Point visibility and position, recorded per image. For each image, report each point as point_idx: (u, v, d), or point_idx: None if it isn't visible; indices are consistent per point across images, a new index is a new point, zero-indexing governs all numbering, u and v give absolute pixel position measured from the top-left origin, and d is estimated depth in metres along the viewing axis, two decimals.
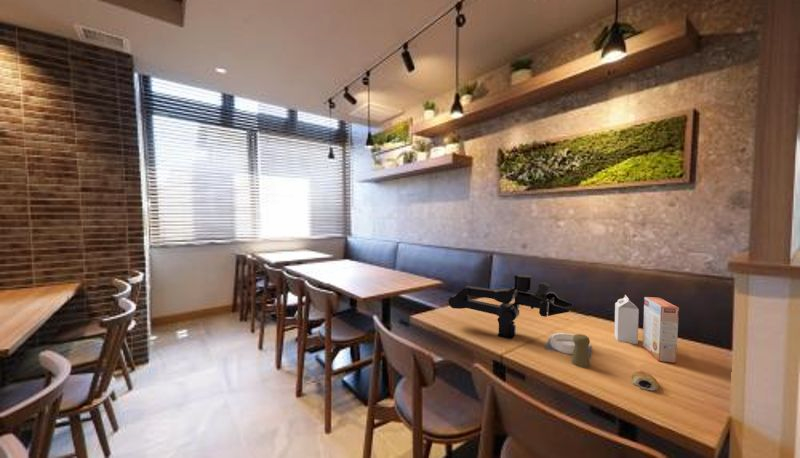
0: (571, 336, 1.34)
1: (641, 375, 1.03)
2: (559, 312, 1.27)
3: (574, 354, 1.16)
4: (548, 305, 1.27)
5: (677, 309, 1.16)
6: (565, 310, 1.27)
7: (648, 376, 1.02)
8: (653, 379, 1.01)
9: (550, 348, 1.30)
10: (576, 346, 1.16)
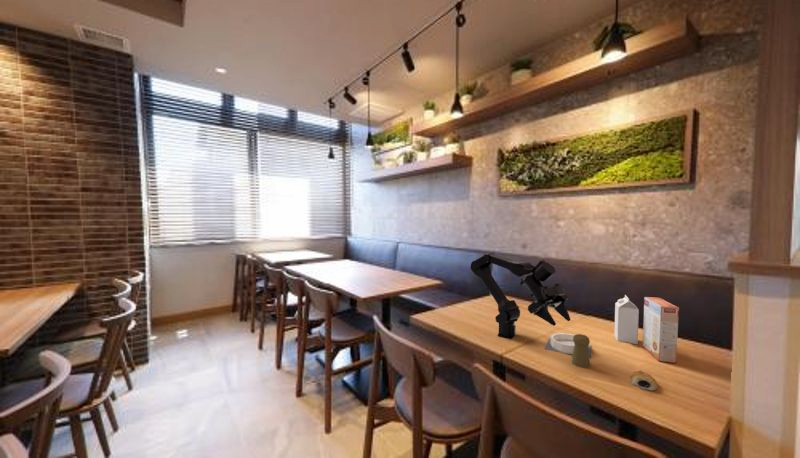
0: (571, 336, 1.34)
1: (640, 375, 1.03)
2: (545, 319, 1.22)
3: (574, 354, 1.16)
4: (540, 308, 1.21)
5: (677, 309, 1.16)
6: (551, 322, 1.20)
7: (647, 376, 1.02)
8: (652, 379, 1.01)
9: (550, 348, 1.30)
10: (576, 346, 1.16)
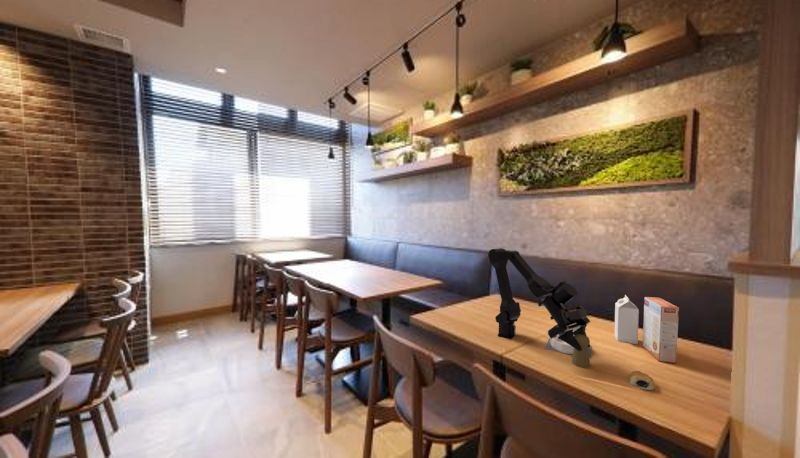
0: None
1: (638, 375, 1.03)
2: (570, 344, 1.16)
3: (574, 354, 1.16)
4: (564, 332, 1.15)
5: (677, 309, 1.16)
6: (577, 347, 1.14)
7: (645, 376, 1.02)
8: (650, 379, 1.02)
9: (550, 348, 1.30)
10: None
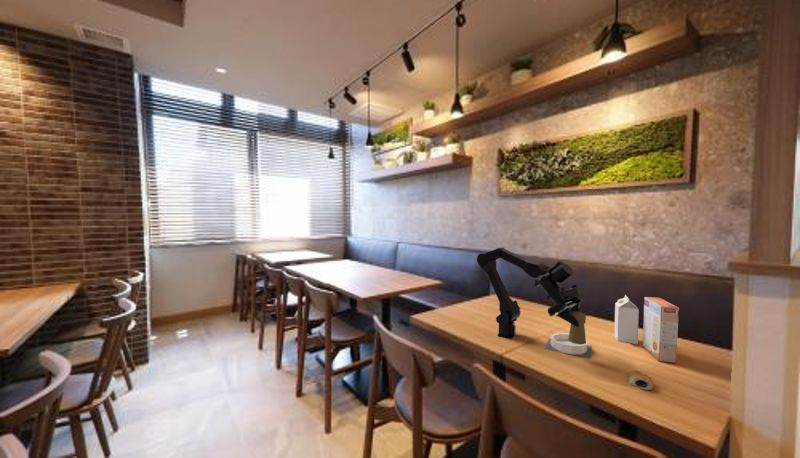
0: None
1: (637, 375, 1.03)
2: (568, 321, 1.20)
3: (571, 330, 1.21)
4: (564, 309, 1.19)
5: (677, 309, 1.16)
6: (575, 324, 1.19)
7: (644, 375, 1.02)
8: (649, 378, 1.02)
9: (550, 348, 1.30)
10: None
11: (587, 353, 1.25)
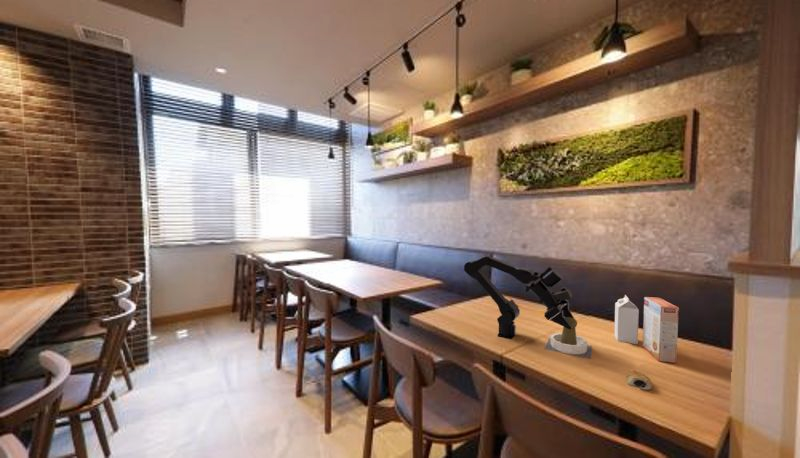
0: None
1: (635, 375, 1.03)
2: (561, 324, 1.26)
3: (564, 336, 1.29)
4: (558, 313, 1.25)
5: (677, 309, 1.16)
6: (567, 326, 1.25)
7: (642, 375, 1.03)
8: (647, 378, 1.02)
9: (550, 348, 1.30)
10: (566, 328, 1.28)
11: (587, 353, 1.25)
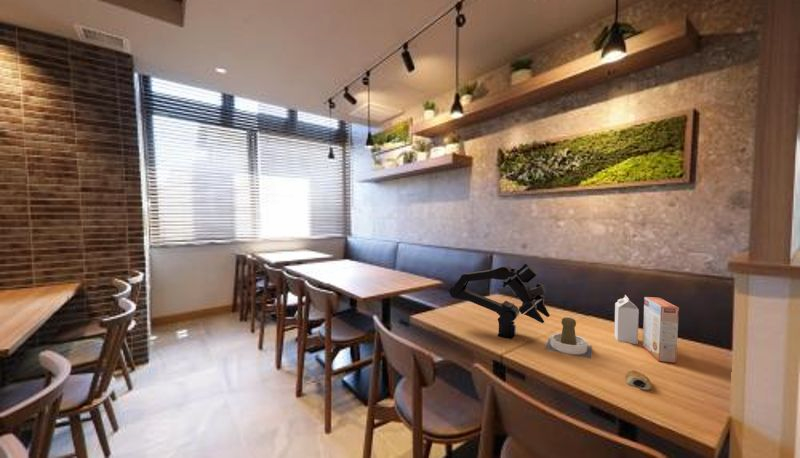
0: None
1: (635, 375, 1.03)
2: (534, 318, 1.32)
3: (563, 336, 1.29)
4: (531, 308, 1.31)
5: (677, 309, 1.16)
6: (540, 320, 1.31)
7: (642, 375, 1.03)
8: (647, 378, 1.02)
9: (550, 348, 1.30)
10: (566, 328, 1.29)
11: (587, 353, 1.25)
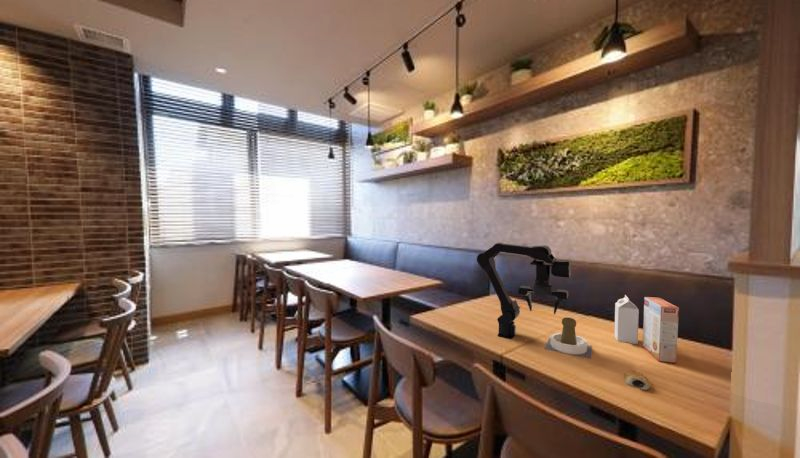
0: None
1: (634, 375, 1.03)
2: None
3: (564, 336, 1.29)
4: None
5: (677, 309, 1.16)
6: None
7: (640, 375, 1.03)
8: (645, 378, 1.02)
9: (550, 348, 1.30)
10: (566, 328, 1.29)
11: (587, 353, 1.25)
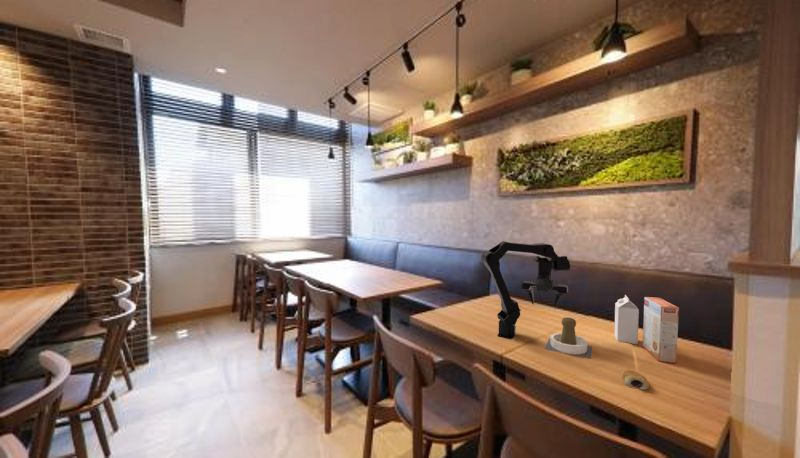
0: None
1: (632, 374, 1.03)
2: None
3: (563, 336, 1.29)
4: None
5: (677, 309, 1.16)
6: None
7: (639, 375, 1.03)
8: (644, 378, 1.02)
9: (550, 348, 1.30)
10: (566, 328, 1.29)
11: (587, 353, 1.25)
